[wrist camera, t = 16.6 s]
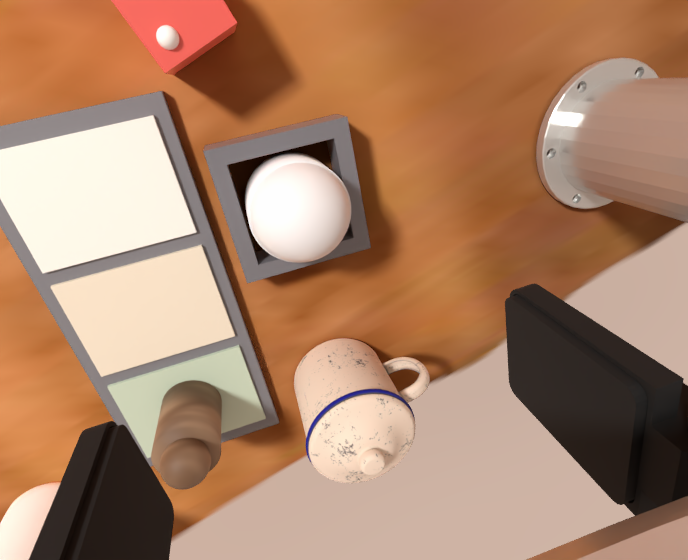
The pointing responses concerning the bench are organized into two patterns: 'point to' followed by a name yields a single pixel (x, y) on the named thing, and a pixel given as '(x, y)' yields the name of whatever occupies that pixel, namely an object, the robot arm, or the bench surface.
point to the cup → (25, 521)
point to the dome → (297, 207)
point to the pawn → (188, 434)
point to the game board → (129, 261)
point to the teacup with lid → (355, 409)
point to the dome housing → (272, 142)
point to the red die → (178, 28)
